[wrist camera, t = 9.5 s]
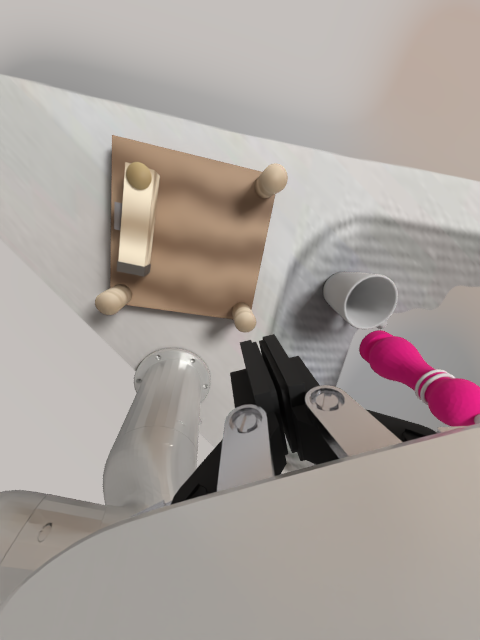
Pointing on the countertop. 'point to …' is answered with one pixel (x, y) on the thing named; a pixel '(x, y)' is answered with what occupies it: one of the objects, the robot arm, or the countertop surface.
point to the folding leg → (137, 219)
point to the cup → (361, 298)
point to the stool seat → (195, 234)
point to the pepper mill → (423, 379)
